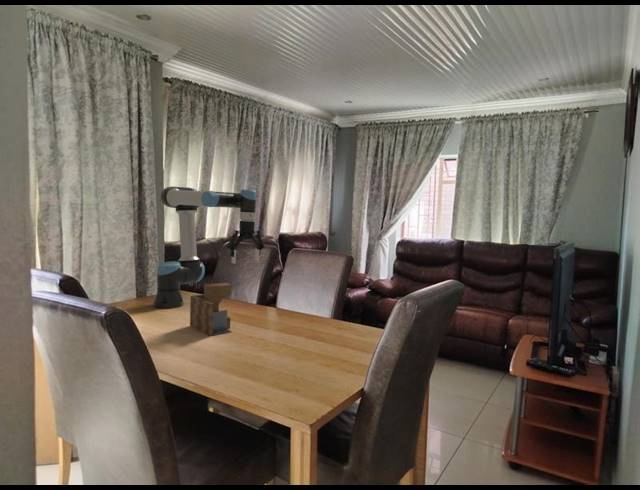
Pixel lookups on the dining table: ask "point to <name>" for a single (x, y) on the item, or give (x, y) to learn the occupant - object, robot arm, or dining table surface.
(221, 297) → the decorative block
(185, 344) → the dining table surface
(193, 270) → the robot arm
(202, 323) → the wooden grain block
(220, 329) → the bookend
